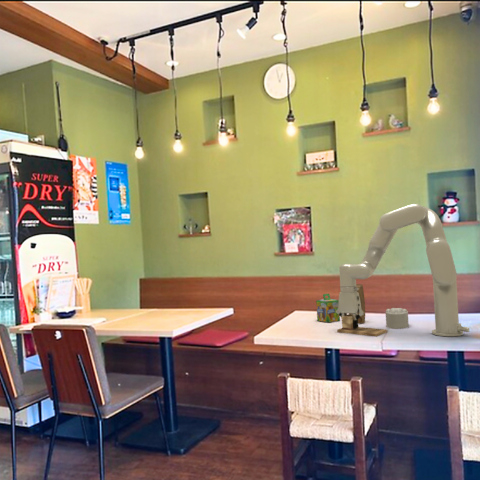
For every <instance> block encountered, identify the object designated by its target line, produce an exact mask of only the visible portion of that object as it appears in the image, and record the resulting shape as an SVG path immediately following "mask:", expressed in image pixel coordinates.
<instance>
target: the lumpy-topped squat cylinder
mask: <svg viewBox="0 0 480 480" xmlns="http://www.w3.org/2000/svg"><path fill="white" fill-rule="evenodd" d="M385 326H386V327H387V328H388V329H394V330H401V329H408V328H409V311H408V310H407V309H406V308H401V307H397V308H396V307H392V308H386V310H385Z"/></svg>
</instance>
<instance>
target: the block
mask: <svg viewBox="0 0 480 480" xmlns="http://www.w3.org/2000/svg"><path fill="white" fill-rule="evenodd" d="M356 286H357V288H359V290H357V292H358V293H359V297H360V302H361V309H362V311H363V312H364V314H363V315H362V316H361V317H360V318H359V319H358V325H360V324H364V323H365V320H366V298H365V291H364V287H363V286H364V285H363V284H361V283H359V284H357V283H356ZM358 314H359V313H358Z"/></svg>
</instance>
